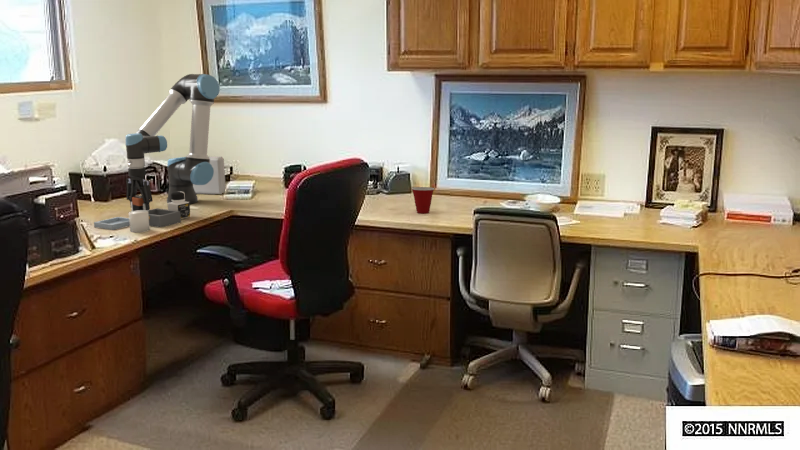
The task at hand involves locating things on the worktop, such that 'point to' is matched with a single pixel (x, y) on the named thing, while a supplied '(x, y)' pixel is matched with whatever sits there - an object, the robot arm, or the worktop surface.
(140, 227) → the white rounded cylinder
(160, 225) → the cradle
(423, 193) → the plastic cup
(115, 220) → the tray
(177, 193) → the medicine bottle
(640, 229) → the worktop surface
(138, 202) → the battery
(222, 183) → the bevelled white case
